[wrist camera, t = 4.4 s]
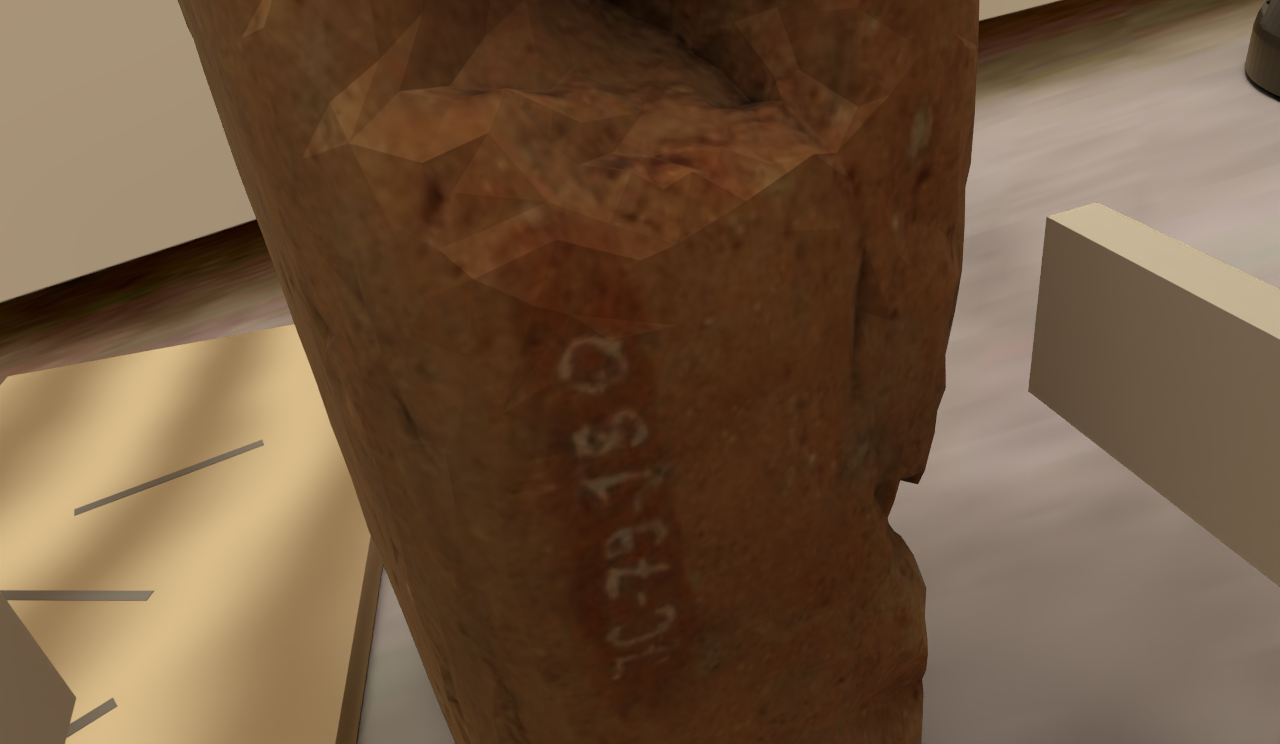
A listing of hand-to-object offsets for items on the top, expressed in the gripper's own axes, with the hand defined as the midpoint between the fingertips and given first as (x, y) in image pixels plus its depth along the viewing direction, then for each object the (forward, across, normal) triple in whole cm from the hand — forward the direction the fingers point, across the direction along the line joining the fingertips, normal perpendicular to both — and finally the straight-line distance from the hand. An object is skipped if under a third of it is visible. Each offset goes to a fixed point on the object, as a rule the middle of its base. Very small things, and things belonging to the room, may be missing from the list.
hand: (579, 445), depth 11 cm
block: (+2, +1, -9) cm, 9 cm away
